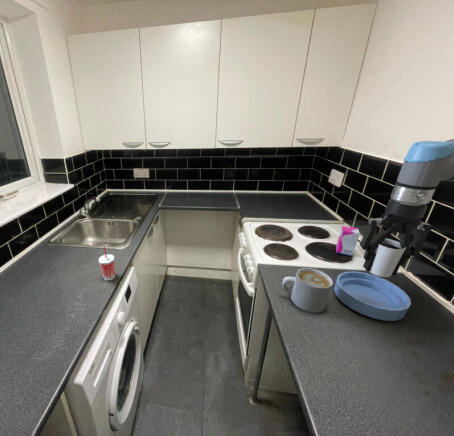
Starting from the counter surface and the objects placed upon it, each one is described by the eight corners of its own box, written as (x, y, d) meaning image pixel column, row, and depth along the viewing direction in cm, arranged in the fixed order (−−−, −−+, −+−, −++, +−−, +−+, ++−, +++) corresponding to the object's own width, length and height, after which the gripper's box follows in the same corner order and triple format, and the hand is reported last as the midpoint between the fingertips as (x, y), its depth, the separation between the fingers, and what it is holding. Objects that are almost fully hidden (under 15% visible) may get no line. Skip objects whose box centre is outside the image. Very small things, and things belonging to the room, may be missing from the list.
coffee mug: (325, 297, 79) (333, 274, 75) (324, 317, 71) (332, 292, 67) (282, 284, 86) (287, 261, 82) (277, 300, 78) (282, 277, 74)
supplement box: (350, 250, 104) (358, 227, 99) (352, 256, 100) (360, 233, 95) (335, 247, 107) (342, 225, 102) (335, 253, 102) (343, 230, 98)
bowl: (387, 288, 81) (392, 277, 79) (418, 329, 66) (425, 317, 64) (327, 278, 88) (331, 267, 86) (342, 314, 72) (346, 301, 70)
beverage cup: (117, 279, 92) (113, 250, 86) (102, 283, 90) (96, 253, 85) (116, 271, 97) (111, 242, 92) (101, 274, 96) (96, 245, 90)
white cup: (382, 265, 75) (393, 238, 70) (399, 278, 68) (412, 250, 64) (359, 264, 75) (369, 238, 71) (374, 277, 69) (386, 249, 65)
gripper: (371, 202, 62) (346, 272, 72) (466, 209, 56) (425, 284, 65) (360, 194, 69) (339, 259, 78) (445, 199, 62) (410, 269, 72)
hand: (378, 270), depth 72 cm, fingers closed on white cup, 6 cm apart
